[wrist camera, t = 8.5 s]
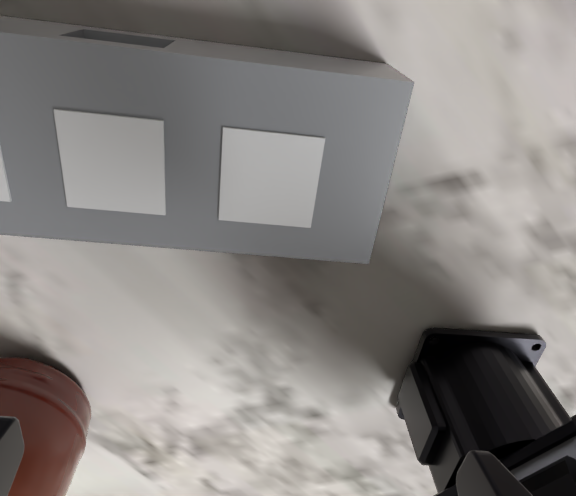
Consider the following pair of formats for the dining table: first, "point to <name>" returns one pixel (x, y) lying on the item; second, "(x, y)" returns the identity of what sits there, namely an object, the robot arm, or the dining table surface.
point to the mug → (44, 424)
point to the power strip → (193, 143)
